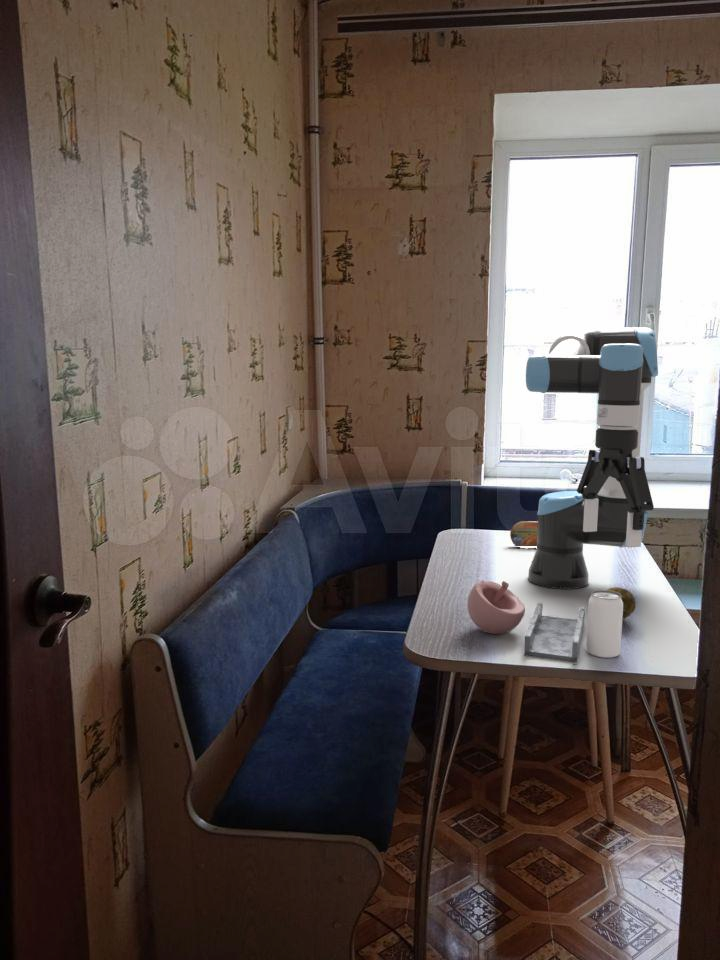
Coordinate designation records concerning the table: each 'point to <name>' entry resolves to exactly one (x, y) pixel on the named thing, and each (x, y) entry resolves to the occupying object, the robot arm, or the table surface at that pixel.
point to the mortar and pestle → (494, 607)
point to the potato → (625, 601)
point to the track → (554, 636)
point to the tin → (524, 533)
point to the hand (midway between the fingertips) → (610, 538)
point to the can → (604, 624)
